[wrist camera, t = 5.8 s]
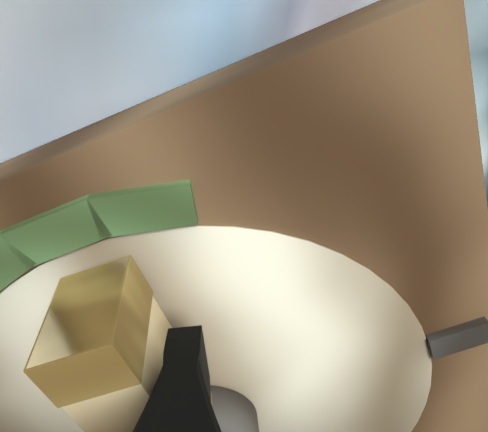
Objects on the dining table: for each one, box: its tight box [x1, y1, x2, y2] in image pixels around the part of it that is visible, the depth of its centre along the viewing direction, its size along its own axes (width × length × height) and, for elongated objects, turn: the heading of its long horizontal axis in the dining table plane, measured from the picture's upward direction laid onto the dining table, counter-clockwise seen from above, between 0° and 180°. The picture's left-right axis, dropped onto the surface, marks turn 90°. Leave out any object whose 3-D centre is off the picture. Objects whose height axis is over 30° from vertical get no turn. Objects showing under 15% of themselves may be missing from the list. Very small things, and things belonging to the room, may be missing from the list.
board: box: [0, 0, 488, 432], centre depth 17 cm, size 22×22×2 cm
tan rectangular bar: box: [23, 255, 259, 432], centre depth 14 cm, size 10×4×3 cm, turn 18°
